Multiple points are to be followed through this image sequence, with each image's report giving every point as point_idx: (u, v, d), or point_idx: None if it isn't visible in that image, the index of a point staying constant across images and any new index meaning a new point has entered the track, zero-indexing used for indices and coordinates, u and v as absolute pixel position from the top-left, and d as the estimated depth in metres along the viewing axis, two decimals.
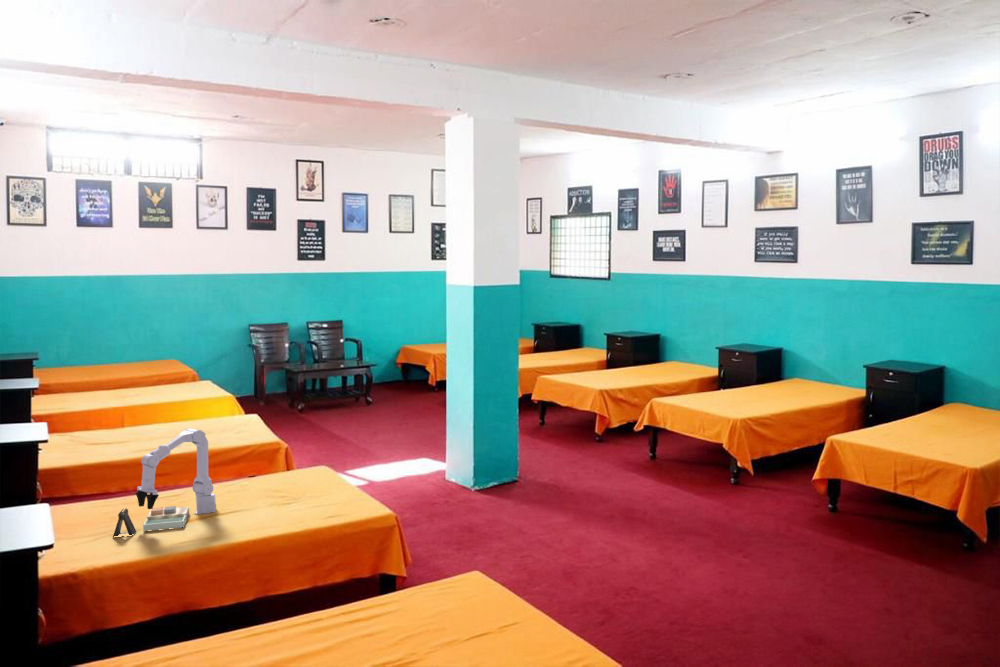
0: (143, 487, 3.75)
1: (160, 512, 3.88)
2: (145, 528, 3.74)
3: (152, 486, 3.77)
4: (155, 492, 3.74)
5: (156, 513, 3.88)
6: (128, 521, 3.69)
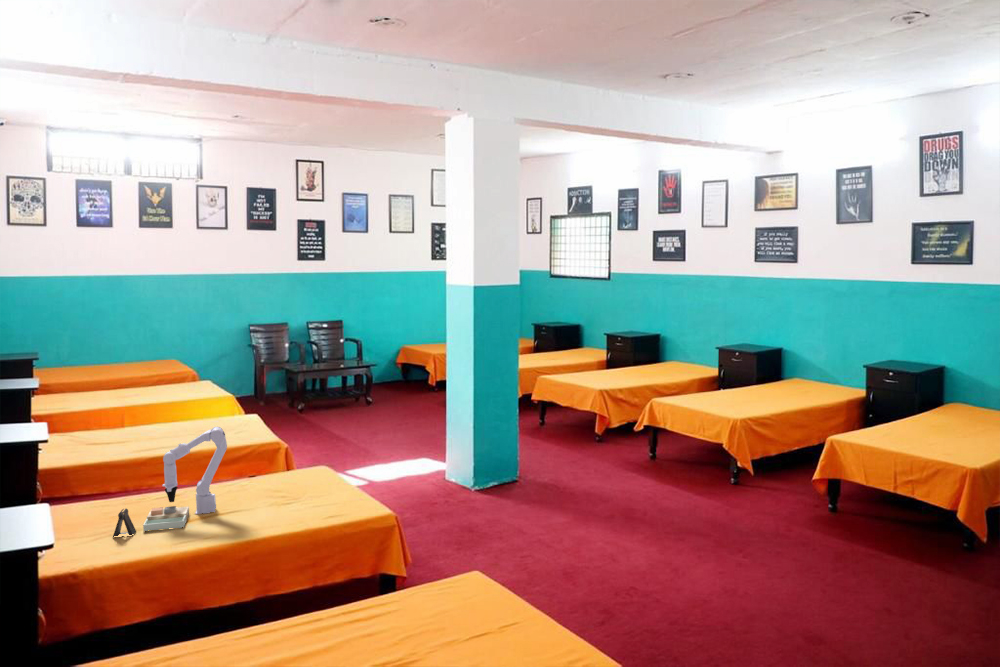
0: (165, 483, 3.96)
1: (160, 512, 3.88)
2: (145, 528, 3.74)
3: (171, 482, 3.95)
4: (168, 489, 3.91)
5: (156, 513, 3.88)
6: (128, 521, 3.69)
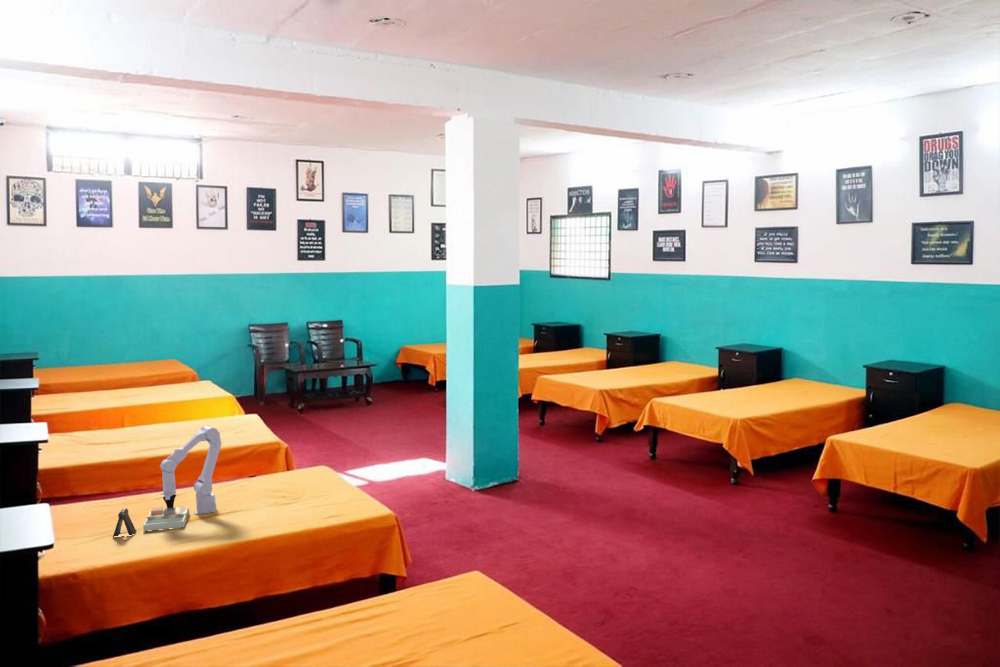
0: (163, 491, 3.90)
1: (160, 512, 3.88)
2: (145, 528, 3.74)
3: (170, 490, 3.89)
4: (167, 497, 3.85)
5: (156, 513, 3.88)
6: (128, 521, 3.69)
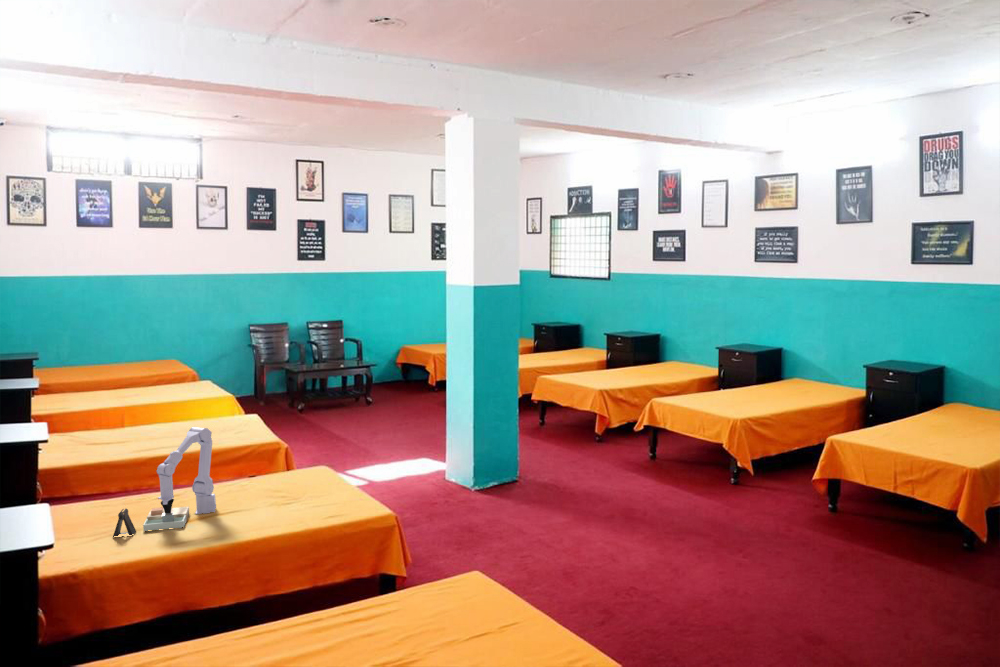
0: None
1: (160, 512, 3.88)
2: (145, 528, 3.74)
3: (168, 495, 3.82)
4: (164, 502, 3.77)
5: (156, 513, 3.88)
6: (128, 521, 3.69)
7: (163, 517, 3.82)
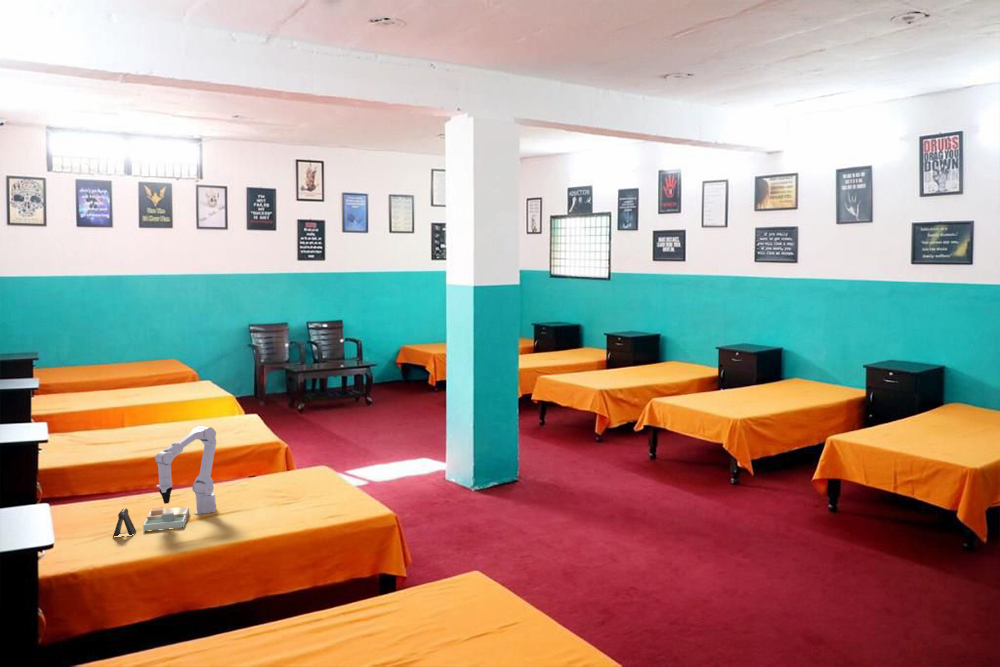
0: (159, 484, 3.82)
1: (160, 512, 3.88)
2: (145, 528, 3.74)
3: (166, 483, 3.82)
4: (163, 490, 3.77)
5: (156, 513, 3.88)
6: (128, 521, 3.69)
7: (163, 516, 3.83)
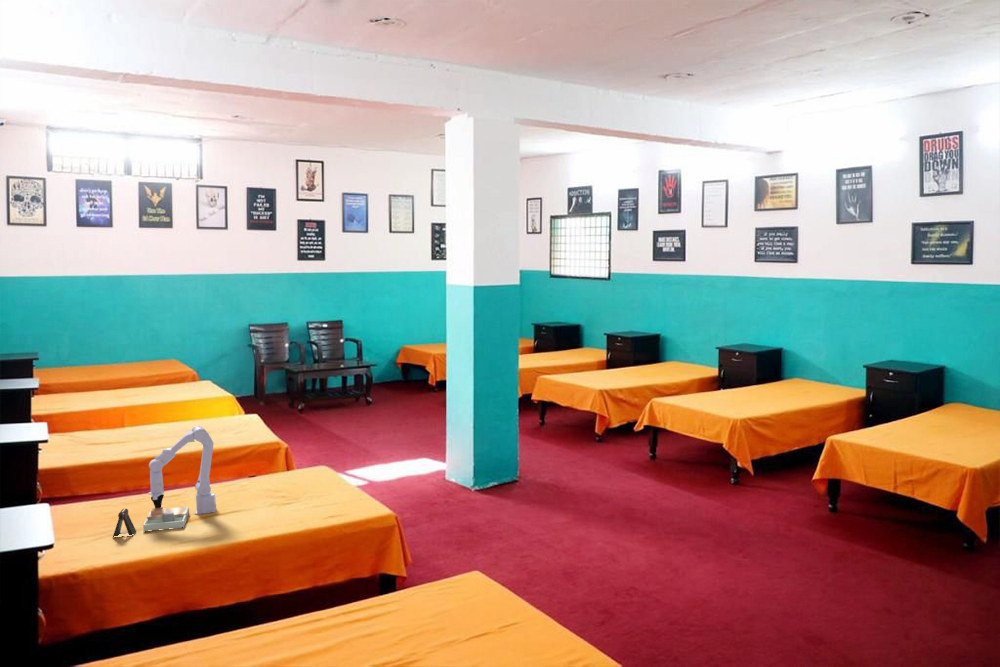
0: (151, 491, 3.91)
1: (160, 512, 3.88)
2: (145, 528, 3.74)
3: (158, 490, 3.90)
4: (154, 497, 3.85)
5: (156, 513, 3.87)
6: (128, 521, 3.69)
7: (163, 516, 3.83)
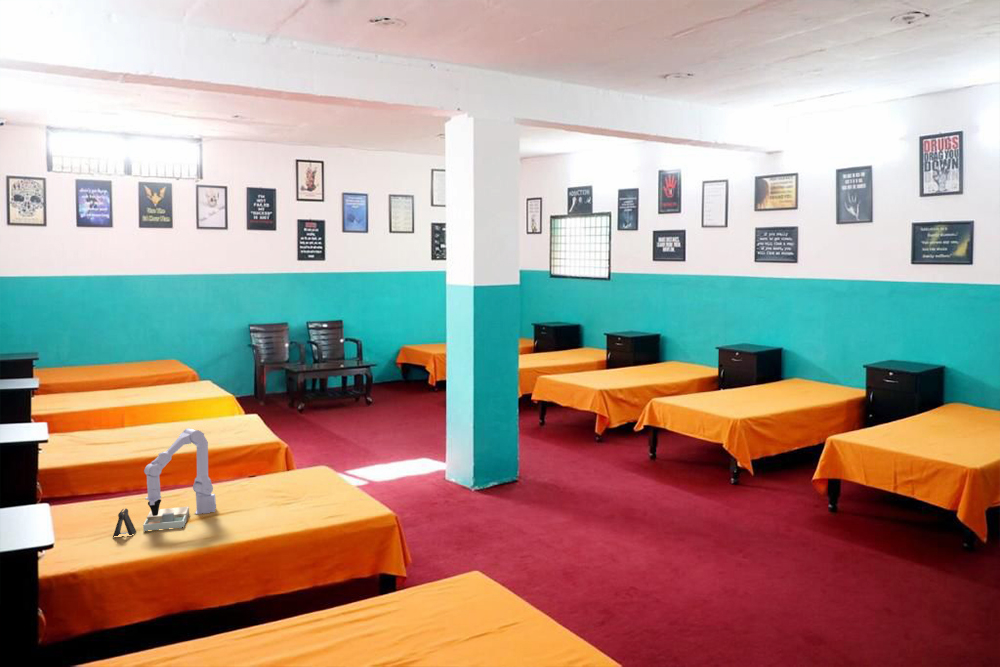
0: (148, 496, 3.82)
1: None
2: (145, 528, 3.74)
3: (155, 495, 3.81)
4: (151, 502, 3.77)
5: None
6: (128, 521, 3.69)
7: (163, 516, 3.83)
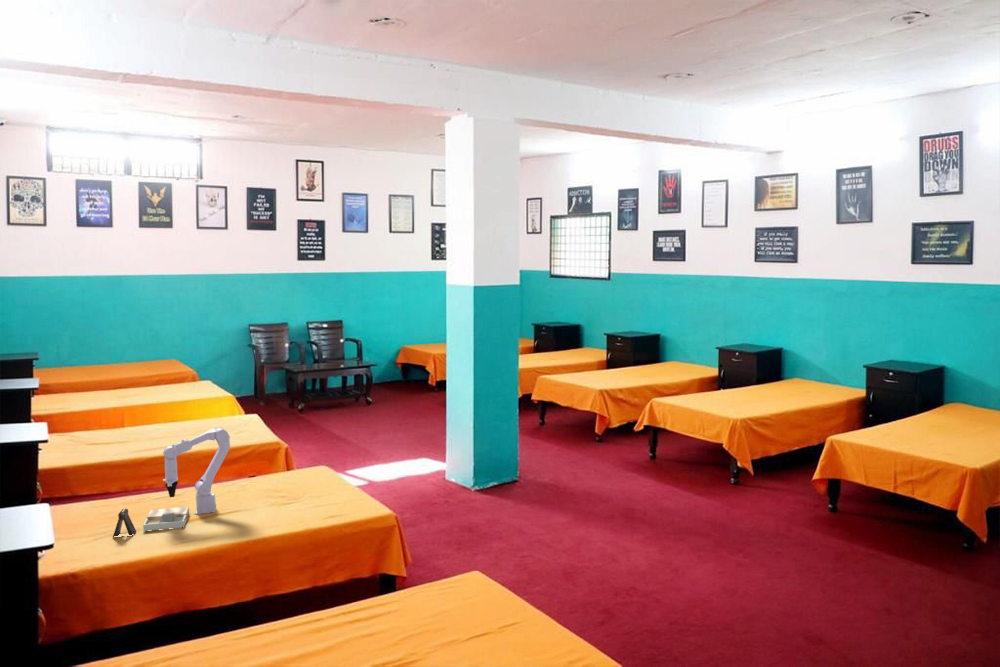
0: (165, 478, 3.93)
1: None
2: (145, 528, 3.74)
3: (172, 477, 3.92)
4: (169, 484, 3.88)
5: None
6: (128, 521, 3.69)
7: (163, 516, 3.83)
